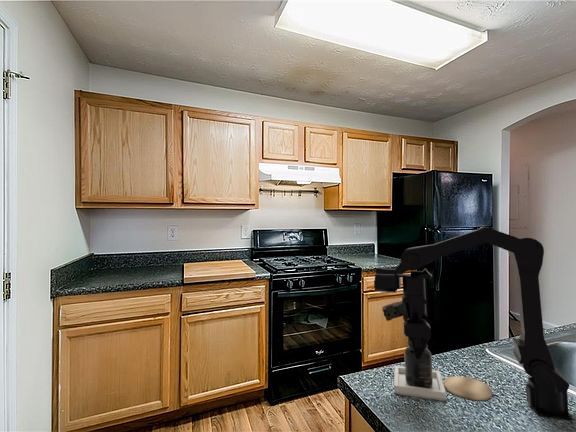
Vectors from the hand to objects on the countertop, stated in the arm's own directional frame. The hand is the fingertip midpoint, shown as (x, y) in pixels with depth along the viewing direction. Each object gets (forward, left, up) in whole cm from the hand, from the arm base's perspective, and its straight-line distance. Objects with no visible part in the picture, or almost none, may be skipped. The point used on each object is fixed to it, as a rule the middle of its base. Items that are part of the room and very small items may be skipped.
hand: (416, 351), depth 82 cm
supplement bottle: (0, 0, -9) cm, 9 cm away
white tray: (0, 0, -9) cm, 9 cm away
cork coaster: (-12, -2, -9) cm, 15 cm away
